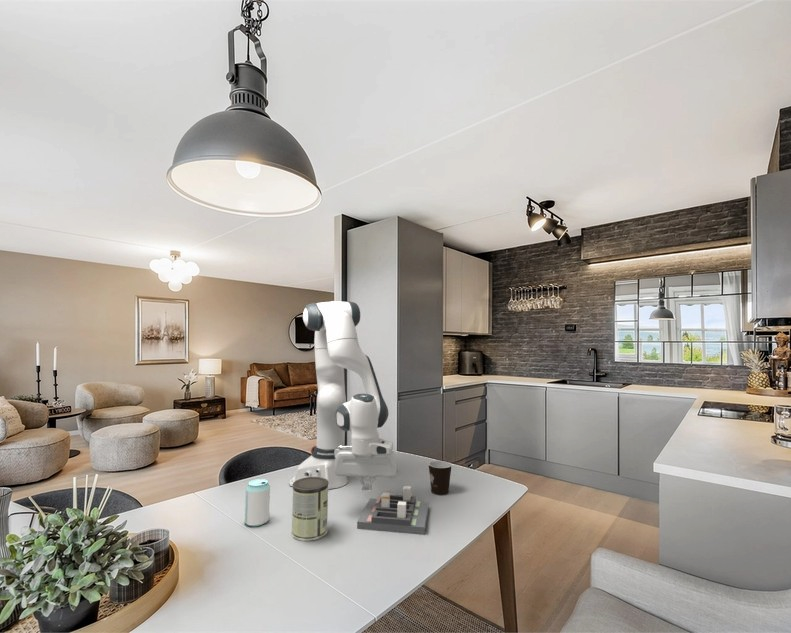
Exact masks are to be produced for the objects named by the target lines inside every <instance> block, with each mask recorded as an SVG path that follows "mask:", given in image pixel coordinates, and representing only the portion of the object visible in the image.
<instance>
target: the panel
mask: <svg viewBox="0 0 791 633" xmlns="http://www.w3.org/2000/svg"><path fill="white" fill-rule="evenodd" d="M416 499H417V497H416V496H414V495H413V496H412V495H411V501H405V500H403V494H402V495H398V494H390V508H385V507H381V497H380V498H376V497H375V498H374V497H370V498H368V502H367V503H366V505H365V507H364V509H363V510H362V512H361V514H360V516H359V518H358V519H357V521H356V525H357V526H356V528H357V529H358V530H359V529H360V530H366V531H367V530H368V531H370V530H371V531H382V532H392V533H403V534H404V533H405V534H416V535H425V533H426V527H427V519H428V513H429V502H428V501H418V500H416ZM398 501H401V502H406V519H405V518H397V504H398Z"/></svg>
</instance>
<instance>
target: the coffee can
mask: <svg viewBox="0 0 791 633" xmlns="http://www.w3.org/2000/svg"><path fill="white" fill-rule="evenodd" d="M328 484H329V482H328V480H327V479H324V478H321V477H307V478H302V479H299V480H297V481H295V482H294V483H293V486H292V510H291V511H292V514H291V515H292V517H291V536H292V538H293V539H295V540H297V541H301V542H311V541H316V540H319V539H323V537H324V536H326V535H327V533H328V515H329V514H328V509H329V504H328V503H329V495H328V494H329V489H328Z"/></svg>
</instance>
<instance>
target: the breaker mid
mask: <svg viewBox="0 0 791 633" xmlns="http://www.w3.org/2000/svg"><path fill="white" fill-rule="evenodd" d="M390 495H391V492H390V491H382V492H381V496H380V498H381V507H385V508H390Z"/></svg>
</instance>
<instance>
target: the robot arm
mask: <svg viewBox="0 0 791 633" xmlns="http://www.w3.org/2000/svg"><path fill="white" fill-rule="evenodd" d="M302 320H303V323H304V325H305V327H306V328H307V330H309V331H312V332H313V331H314V340H313V343H314V362H315V364H314V365H315V373H316V381H317V382H316V384H317V395H316V439H315V440H316V441H315V442H316V443H315V444H314V445H313V446H312V447H311V449H310V453H311V455H310V456H308V457H307V458H306V459H305V460H304V461H302V462H301V463H300V464H299V465H298V466H297V469H296V471H295V475H293V477H292V478H290V480H289V484H288V486H289V487H293V483H294V482H295V481H297V480H299V479H302V478H307V477H321V478H324V479H327V480H328V482H329V484H328V490H331V489H337V488H341V487H344V486H345V485H347V484H348V483H349V480H348V477H357V480H358V482H359V483H360V485H361V490H362V491H372V487H373V482H374V480H375V479H376V478H375V477H377V478H378V477H380V478H383V477H384V478H395V477H396V476H397V474H398V470H399V467H398V459H397V454H396V452H395V451H394V450H393V449H394V443H393V442H391V441H389V440H385V439H384V438H381V437H379V436H380V435H379V431H378V428H382V427H383V426H384V424H386V423H387V420H388V418H389V409H388V406H387V403H386V402H385V399H384V397H383V395H382V391H381V388H380V385H379V382H378V378H377V376H376V372H375V369H374V367H373V364H372V361H371V359H370V357H369V356H368V355H367V354H365V353H364V352H363V350H362V348H361V346H360V344H359V339H358V334H357V333H358V332H357V329H356V327H357V326H358V324H359V323H360V322H361V309H360V307H359V304H357V303H356V302H354V301H349V300H348V301H342V300H341V301H338V300H331V301H324V302H322V301H321V302H317V303H316V302H312V303H309V304H307V305H306V306H305V307H304V310H303V314H302ZM344 369H345V370H349V371H351V372H354V373H356V374H357V375H359V377H360V378H361V380H362V385H363V387H364V391H365V393H357V394H354V395H353V396H352V397H351V399H350V400H349V401H347V397H346V385H345V370H344ZM346 432H351V436H350V438H351V440H350V441H351V444H350V445H345V440H346V439H345V435H346V434H345V433H346ZM364 477H368V479H369V480H370V481H369V482H365V480H364Z"/></svg>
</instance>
